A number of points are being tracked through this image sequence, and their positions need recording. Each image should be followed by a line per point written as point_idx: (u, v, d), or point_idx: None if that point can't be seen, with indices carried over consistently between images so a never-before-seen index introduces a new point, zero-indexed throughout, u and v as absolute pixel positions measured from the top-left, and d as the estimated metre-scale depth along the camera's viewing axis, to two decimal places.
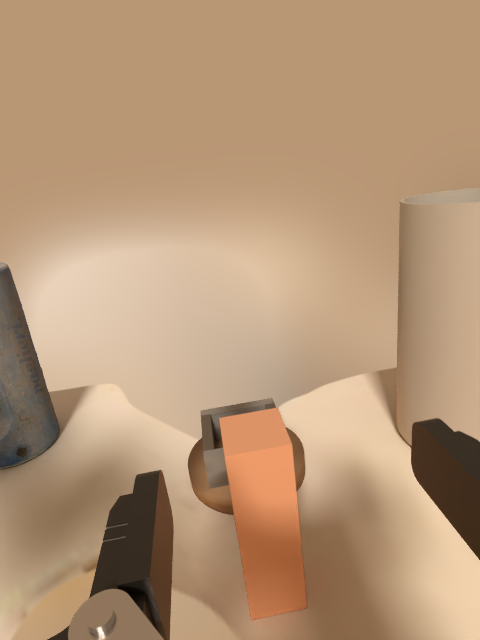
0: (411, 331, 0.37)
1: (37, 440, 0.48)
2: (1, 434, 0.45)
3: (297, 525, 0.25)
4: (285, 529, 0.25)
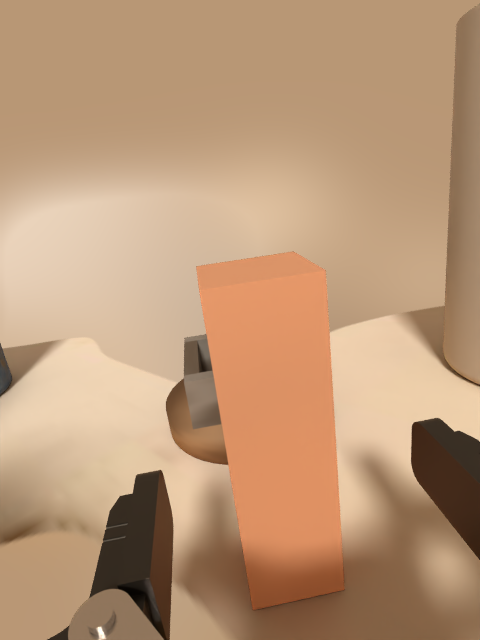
0: (475, 206, 0.27)
1: None
2: None
3: (332, 438, 0.14)
4: (311, 445, 0.14)
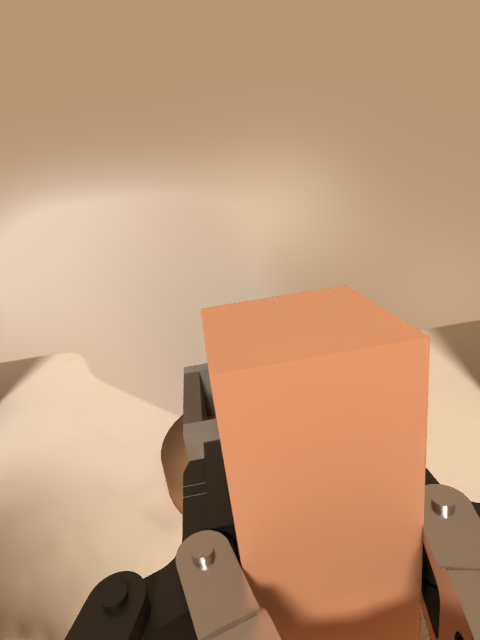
0: None
1: None
2: None
3: (416, 588, 0.09)
4: (384, 599, 0.09)
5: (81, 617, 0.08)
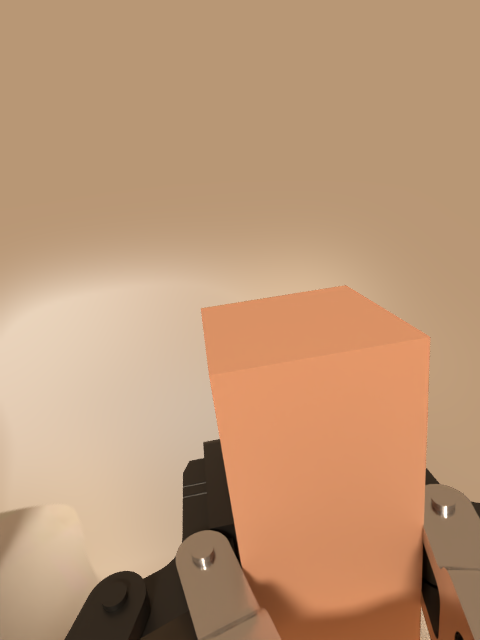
0: None
1: None
2: None
3: (416, 588, 0.09)
4: (384, 599, 0.09)
5: (81, 617, 0.08)
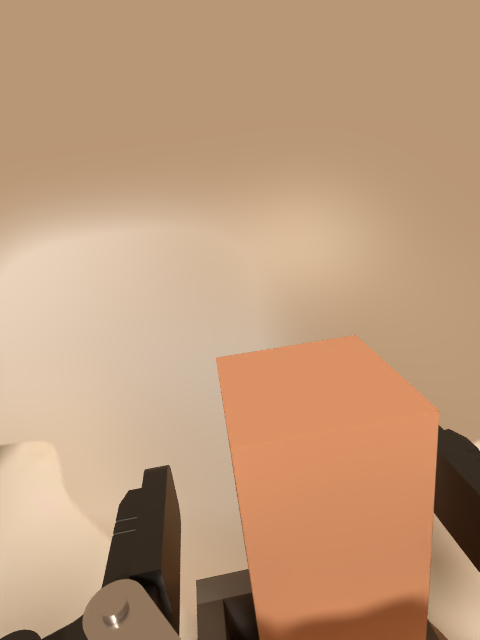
0: None
1: None
2: None
3: (421, 633, 0.10)
4: None
5: None
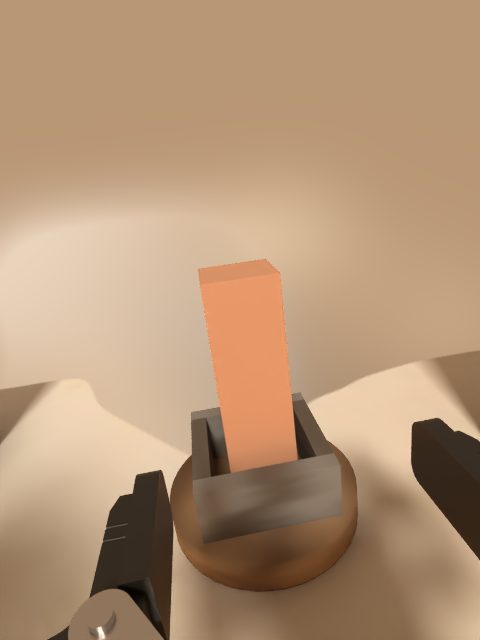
0: None
1: None
2: None
3: (288, 384, 0.22)
4: (274, 389, 0.22)
5: None
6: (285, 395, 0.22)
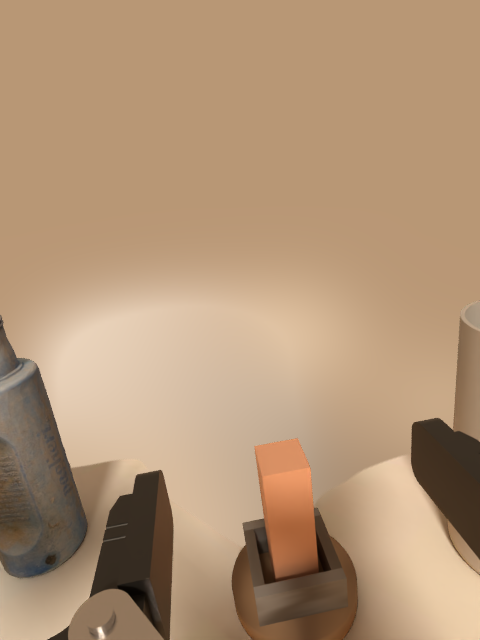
0: None
1: (66, 545, 0.45)
2: (30, 544, 0.43)
3: (313, 526, 0.34)
4: (305, 529, 0.34)
5: None
6: (311, 532, 0.35)
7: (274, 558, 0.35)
